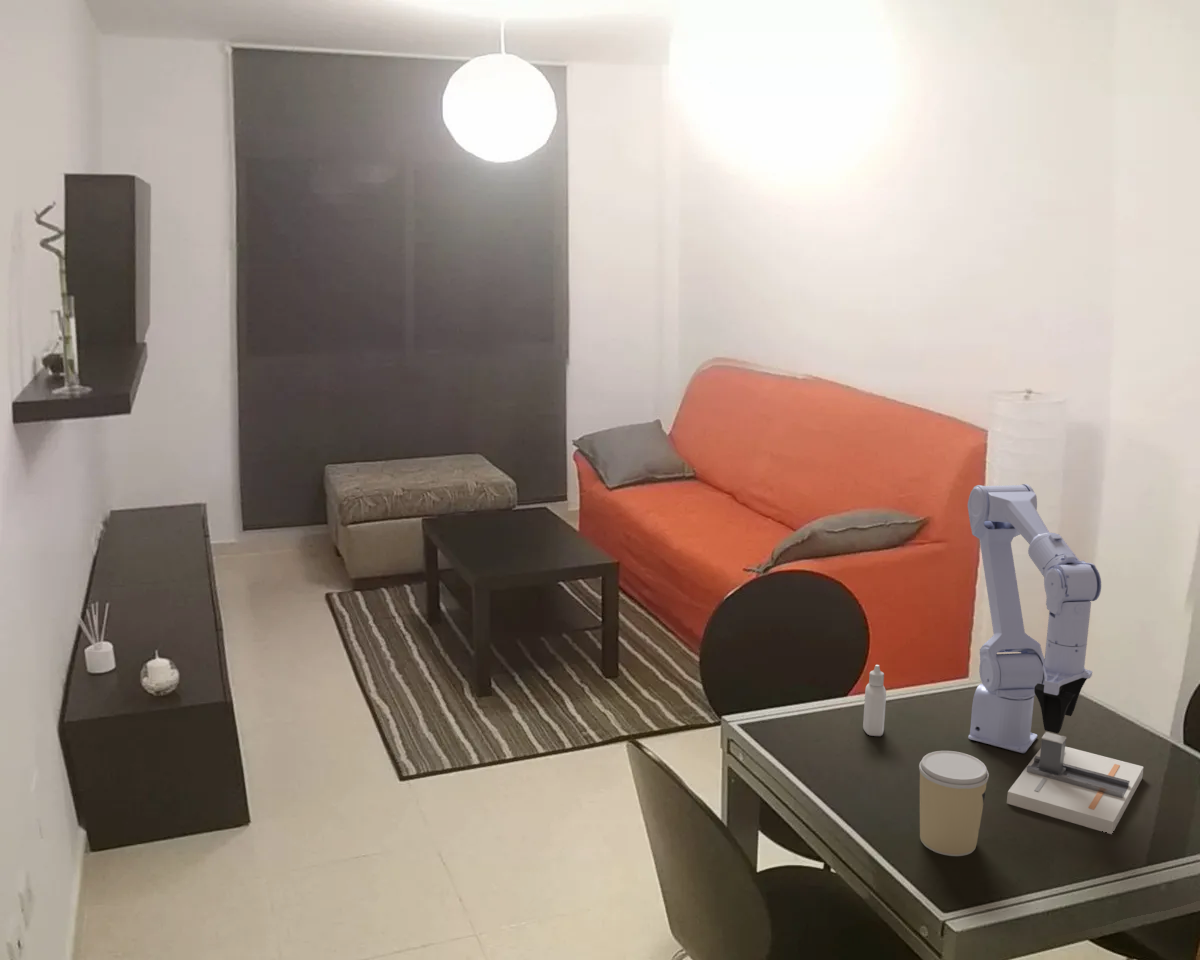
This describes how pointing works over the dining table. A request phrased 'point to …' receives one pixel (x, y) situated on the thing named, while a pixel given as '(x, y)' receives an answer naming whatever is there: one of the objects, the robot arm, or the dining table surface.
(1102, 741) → the dining table surface
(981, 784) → the coffee cup
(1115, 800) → the console
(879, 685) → the eye dropper bottle
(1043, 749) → the fader tab
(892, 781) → the dining table surface
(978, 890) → the dining table surface
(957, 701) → the dining table surface
